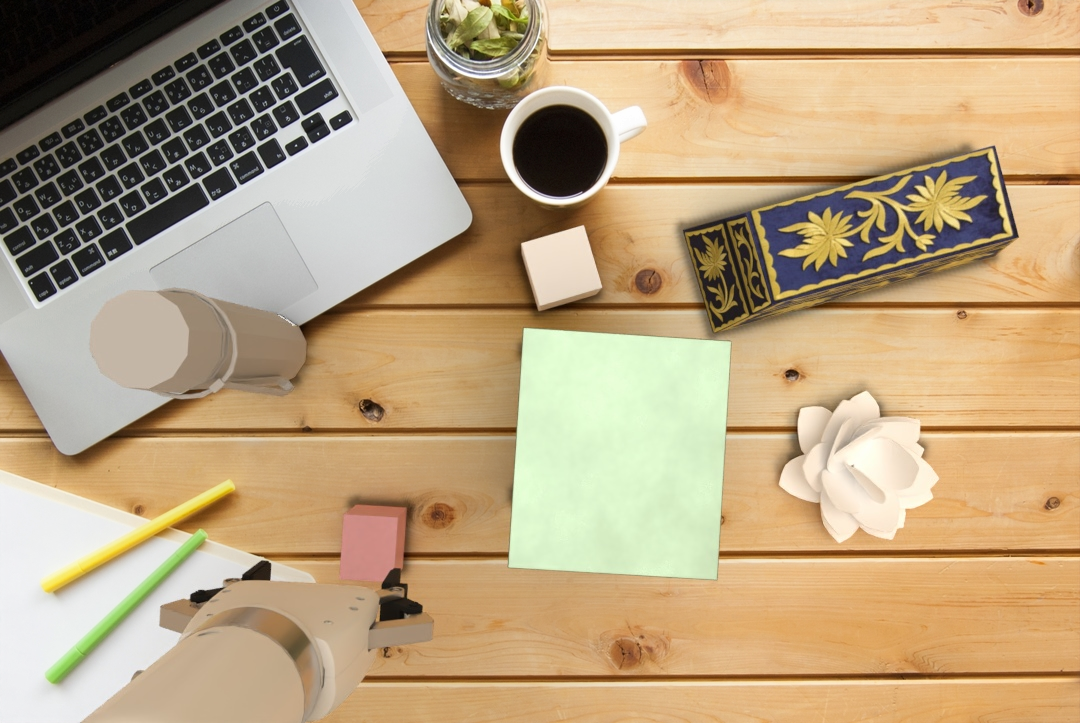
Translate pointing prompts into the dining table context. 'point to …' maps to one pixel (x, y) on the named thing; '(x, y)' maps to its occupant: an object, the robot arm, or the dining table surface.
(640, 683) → the dining table surface
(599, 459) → the pale green block
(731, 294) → the decorative box
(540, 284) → the pale peach cube
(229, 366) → the water bottle
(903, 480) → the lotus flower
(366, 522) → the pink box
